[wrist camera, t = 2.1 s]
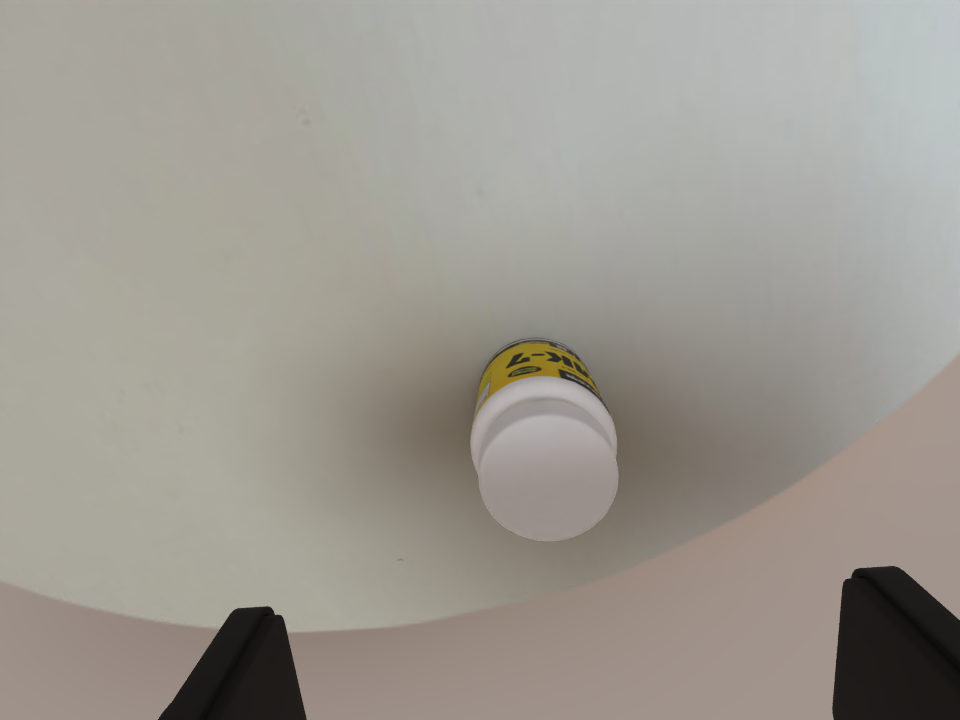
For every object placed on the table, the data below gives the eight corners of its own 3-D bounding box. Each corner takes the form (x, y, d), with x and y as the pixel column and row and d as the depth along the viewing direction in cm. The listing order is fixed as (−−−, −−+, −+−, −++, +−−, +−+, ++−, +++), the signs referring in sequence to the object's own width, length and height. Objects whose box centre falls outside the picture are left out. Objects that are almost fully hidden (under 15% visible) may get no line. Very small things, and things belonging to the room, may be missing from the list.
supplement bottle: (604, 352, 23) (659, 428, 15) (572, 452, 24) (605, 573, 16) (494, 323, 23) (488, 383, 15) (466, 425, 24) (447, 532, 16)
